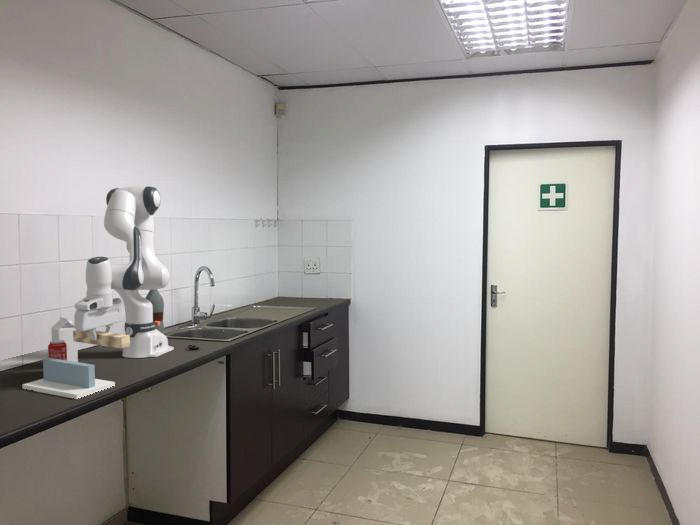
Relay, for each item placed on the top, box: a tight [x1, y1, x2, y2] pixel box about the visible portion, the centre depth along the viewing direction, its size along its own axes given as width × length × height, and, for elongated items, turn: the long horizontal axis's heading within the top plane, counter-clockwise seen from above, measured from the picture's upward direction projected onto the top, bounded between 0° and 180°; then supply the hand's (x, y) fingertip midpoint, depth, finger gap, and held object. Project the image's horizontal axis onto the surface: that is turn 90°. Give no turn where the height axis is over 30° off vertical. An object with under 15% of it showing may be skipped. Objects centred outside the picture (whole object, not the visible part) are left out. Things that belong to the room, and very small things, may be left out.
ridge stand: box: [21, 357, 116, 400], centre depth 203 cm, size 16×26×9 cm, turn 66°
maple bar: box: [73, 330, 130, 349], centre depth 217 cm, size 24×4×4 cm, turn 66°
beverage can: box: [47, 340, 67, 361], centre depth 222 cm, size 6×6×12 cm
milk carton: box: [50, 316, 79, 362], centre depth 233 cm, size 7×7×19 cm
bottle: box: [144, 289, 166, 335], centre depth 279 cm, size 9×9×30 cm
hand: (101, 338), depth 217 cm, fingers closed on maple bar, 4 cm apart
